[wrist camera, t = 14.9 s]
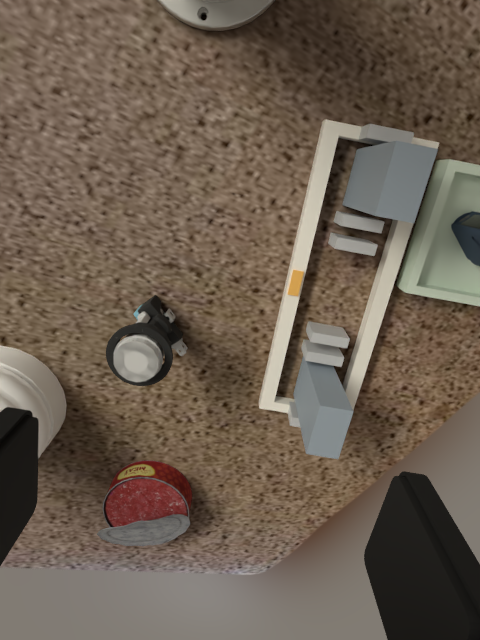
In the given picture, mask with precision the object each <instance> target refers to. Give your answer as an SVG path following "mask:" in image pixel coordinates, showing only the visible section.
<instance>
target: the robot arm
mask: <svg viewBox="0 0 480 640" xmlns="http://www.w3.org/2000/svg"><path fill="white" fill-rule="evenodd" d="M157 1H158V2H159V3H160V4H161V5H162V6H163V7H164V9H165V10H167V11H168V12H169V13H170V14H172V15H173V16H174V17H175V18H177V19H178V20H180V21H182V22H184V23H186V24H188V25H190V26H192V27H195V28H199V29H203V30H208V31H224V30H229V29H235V28H238V27H240V26H243V25H245V24H247V23H250V22H251V21H253V20H254V19H256V18H257V17H258V16H260V15H261V14H263V13H264V12H265V11H266V10H267V9H268V8H269V7H270V6H271V5H272V3H273V2H274V1H275V0H157ZM204 14H205V15H207V19H206V20H201V16H202V15H204ZM38 432H39V421H38V418H36V417H33V414H32V412H31V411H30V410H24V409H18V408H11V407H6V408H5V409H3V410H2V411H1V412H0V566H1V564H2V562H3V561H4V559H5V558H6V556H7V554H8V553H9V551H10V550H11V548H12V546H13V545H14V543H15V542H16V540H17V539H18V537H19V535H20V534H21V532H22V531H23V529H24V527H25V526H26V524H27V523H28V521H29V519H30V518H31V516H32V514H33V513H34V510H35V507H36V504H37V490H38ZM364 557H365V558H364V560H365V566H366V569H367V573H368V576H369V579H370V583H371V586H372V589H373V593H374V596H375V599H376V602H377V606H378V609H379V612H380V616H381V619H382V622H383V626H384V629H385V632H386V635H387V639H388V640H480V564H479V562H478V561H477V559H476V557H475V556H474V554H473V552H472V551H471V549H470V547H469V546H468V544H467V542H466V541H465V539H464V537H463V536H462V534H461V532H460V531H459V529H458V527H457V525H456V524H455V522H454V521H453V519H452V517H451V515H450V514H449V512H448V510H447V509H446V507H445V505H444V504H443V502H442V500H441V499H440V497H439V495H438V494H437V492H436V490H435V489H434V487H433V485H432V484H431V482H430V480H429V479H428V477H427V476H425V475H422V474H416V473H410V472H402V473H400V475H399V476H395V477H394V478H393V480H392V481H391V484H390V487H389V489H388V492H387V494H386V497H385V500H384V502H383V505H382V507H381V510H380V513H379V515H378V518H377V521H376V523H375V526H374V529H373V531H372V533H371V536H370V539H369V541H368V544H367V546H366V549H365V555H364Z"/></svg>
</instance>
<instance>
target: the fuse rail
mask: <svg viewBox="0 0 480 640" xmlns="http://www.w3.org/2000/svg"><path fill="white" fill-rule="evenodd" d="M413 136H414V133H413V132H408V131H403V130H399V129H394V128H389V127H384V126H379V125H374V124H368V125H365V126H363V127H360V126H355V125H350V124H345V123H341V122H336V121H331V120H326V119H325V120H324V121H323V122H322V126H321V130H320V135H319V139H318V144H317V148H316V152H315V157H314V161H313V166H312V170H311V174H310V179H309V183H308V187H307V192H306V196H305V201H304V205H303V209H302V214H301V218H300V223H299V227H298V231H297V236H296V240H295V244H294V249H293V253H292V258H291V262H290V266H289V271H288V275H287V280H286V284H285V288H284V293H283V297H282V301H281V306H280V310H279V315H278V319H277V323H276V328H275V332H274V337H273V341H272V345H271V350H270V354H269V359H268V363H267V367H266V372H265V376H264V380H263V385H262V389H261V394H260V398H259V408H261V409H267V410H273V411H279V412H284V413H288V417H289V423H290V426H295V427H301V432H302V437H303V441H304V446H305V451H306V454H310V455H316V456H322V457H328V458H335V459H338V458H339V455H340V452H341V449H342V446H343V443H344V440H345V437H346V433H347V430H348V427H349V424H350V421H351V418H352V415H353V412H354V411H353V410H354V407H355V404H356V401H357V398H358V394H359V391H360V388H361V385H362V382H363V379H364V376H365V373H366V370H367V366H368V363H369V360H370V357H371V354H372V351H373V348H374V345H375V342H376V338H377V335H378V332H379V329H380V326H381V323H382V320H383V317H384V314H385V310H386V307H387V304H388V301H389V298H390V295H391V292H392V289H393V286H394V282H395V279H396V276H397V273H398V270H399V267H400V264H401V261H402V258H403V254H404V251H405V248H406V245H407V242H408V239H409V236H410V233H411V230H412V226H413V223H414V222H415V219H416V216H417V213H418V210H419V207H420V204H421V201H422V197H423V194H424V191H425V188H426V185H427V182H428V179H429V176H430V173H431V170H432V166H433V163H434V160H435V157H436V154H437V151H438V146H439V142H434V141H429V140H424V139H419V138H414V137H413ZM338 138H342V139H347V140H352V141H357V142H362V143H367V144H372V145H374V146H369V147H365V148H360V149H357V151H356V155H355V159H354V163H353V166H352V170H351V174H350V178H349V182H348V186H347V189H346V193H345V197H344V201H343V205H344V206H347V207H350V208H353V209H356V210H359V211H362V212H365V213H368V214H371V215H374V216H378V217H384V218H389V219H393V221H392V224H391V227H390V230H389V234H388V237H387V240H386V244H385V247H384V250H383V254H382V257H381V260H380V263H379V267H378V270H377V273H376V277H375V280H374V283H373V286H372V290H371V293H370V296H369V300H368V303H367V306H366V310H365V313H364V316H363V319H362V323H361V326H360V329H359V333H358V336H357V339H356V342H355V346H354V349H353V352H352V356H351V359H350V362H349V366H348V369H347V372H346V375H345V379H344V382H343V385H342V384H341V382H340V380H339V378H338V375H337V373H336V371H335V369H334V366H338V367H342V364H343V360H344V356H343V354H342V353H341V351H340V349H339V347H342V348H347V347H348V344H349V340H350V338H349V337H348V335H347V333H346V332H345V330H344V329H343V328H342V327H337V326H331V325H325V324H320V323H314V322H309V321H308V324H307V328H306V332H307V335H308V337H309V340H303V344H302V348H301V349H302V352H303V359H302V363H301V367H300V371H299V375H298V378H297V382H296V386H295V390H294V399H291V398H285V397H279V396H276V392H277V388H278V384H279V380H280V376H281V372H282V368H283V364H284V359H285V355H286V351H287V347H288V343H289V339H290V335H291V331H292V326H293V322H294V318H295V314H296V310H297V306H298V302H299V298H300V294H301V289H302V285H303V281H304V277H305V273H306V269H307V265H308V261H309V256H310V252H311V248H312V244H313V240H314V236H315V232H316V228H317V224H318V219H319V215H320V211H321V207H322V203H323V199H324V195H325V191H326V186H327V182H328V178H329V174H330V170H331V166H332V162H333V158H334V154H335V149H336V145H337V141H338ZM334 222H335V223H337V224H338V225H340V226H344V227H350V228H355V229H360V230H365V231H371V232H376V233H382V229H383V226H384V223H385V222H384V221H381V220H378V219H375V218H371V217H365V216H360V215H355V214H350V213H345V212H339V211H336V215H335V219H334ZM328 243H329V244H330V245H331V246H332V247H333V248H334V249H339V250H344V251H350V252H355V253H360V254H366V255H371V256H375V253H376V250H377V246H378V245H377V244H375V243H373V242H372V241H370V240H367V239H362V238H357V237H351V236H346V235H341V234H336V233H331V234H330V238H329V242H328Z"/></svg>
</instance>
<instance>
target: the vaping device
mask: <svg viewBox="0 0 480 640" xmlns="http://www.w3.org/2000/svg"><path fill="white" fill-rule="evenodd" d="M451 228H452V231H453V233H454V235H455V236H456V238H457V240H458V242H459V244H460V246H461V248H462V250H463V252H464V254H465V256H466V257H467V259H469V260H471V262H472V263H473V264H475V265H477V266H480V212H474V211H471V212H469V213H465V214H463V215H461V216H460V217H458V218H457V219H456V220H455V221H454V223H453V224H451Z"/></svg>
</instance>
